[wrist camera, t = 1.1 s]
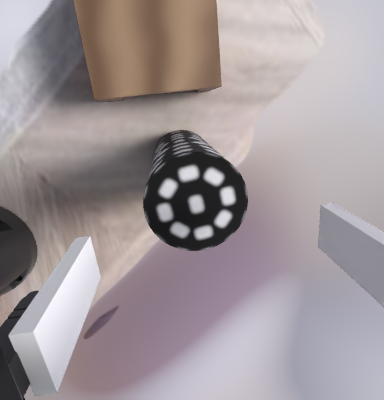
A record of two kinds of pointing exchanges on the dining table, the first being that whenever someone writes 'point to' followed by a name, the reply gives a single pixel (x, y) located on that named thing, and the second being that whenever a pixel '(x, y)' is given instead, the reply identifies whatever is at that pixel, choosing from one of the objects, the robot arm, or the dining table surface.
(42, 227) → the dining table surface
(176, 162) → the spotted tube
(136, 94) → the wooden bridge block
